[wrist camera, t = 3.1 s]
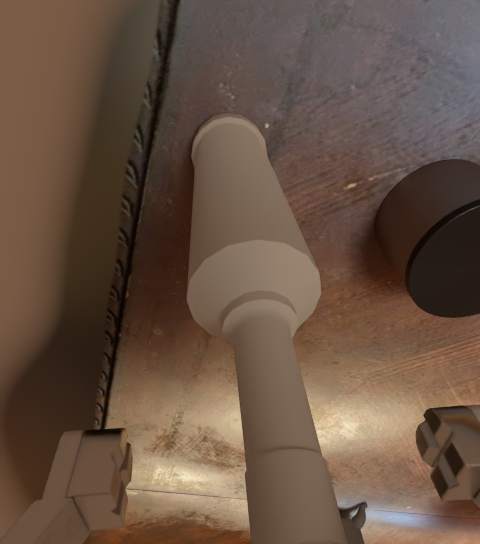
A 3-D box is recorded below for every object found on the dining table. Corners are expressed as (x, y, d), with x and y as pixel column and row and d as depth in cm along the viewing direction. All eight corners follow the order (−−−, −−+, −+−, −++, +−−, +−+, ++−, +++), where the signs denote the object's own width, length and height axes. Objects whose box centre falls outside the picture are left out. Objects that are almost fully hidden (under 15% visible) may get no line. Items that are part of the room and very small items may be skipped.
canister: (357, 198, 32) (392, 245, 26) (487, 132, 29) (555, 169, 24) (391, 282, 37) (425, 335, 32) (502, 233, 35) (560, 282, 29)
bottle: (181, 167, 29) (147, 597, 9) (206, 97, 26) (235, 490, 6) (246, 190, 30) (340, 600, 10) (275, 126, 28) (479, 516, 8)
